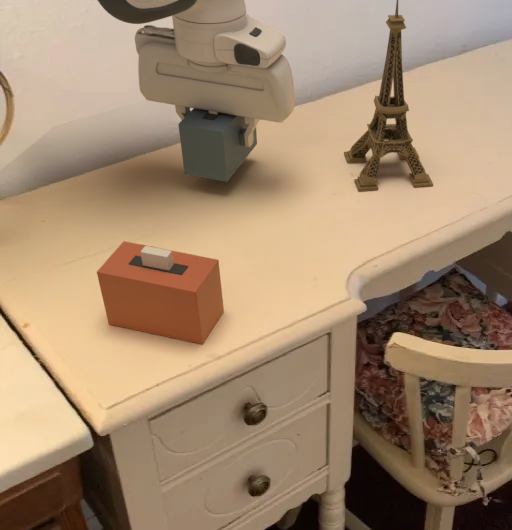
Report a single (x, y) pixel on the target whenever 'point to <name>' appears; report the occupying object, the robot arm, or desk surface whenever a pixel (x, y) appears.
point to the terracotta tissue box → (161, 291)
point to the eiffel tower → (386, 108)
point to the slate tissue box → (213, 144)
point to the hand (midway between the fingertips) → (220, 140)
